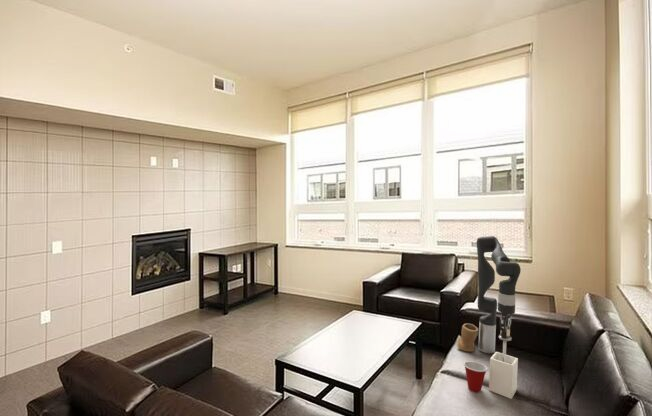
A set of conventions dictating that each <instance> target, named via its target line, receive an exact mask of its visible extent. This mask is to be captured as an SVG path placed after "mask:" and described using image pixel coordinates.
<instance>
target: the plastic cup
mask: <svg viewBox="0 0 652 416" xmlns="http://www.w3.org/2000/svg"><path fill="white" fill-rule="evenodd" d="M463 366H464V370H465V375H466V382H467V383H466V384H467V387H468V389H469V391H471V392H473V393H480V392H481V391H482V389H483V388H482V387H483V384H484V380H485V375H486V373H487V371H488V366H486V365H485V364H482V363H481V362H478V361H477V362H476V361H472V360H470V361H464V362H463Z"/></svg>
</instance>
